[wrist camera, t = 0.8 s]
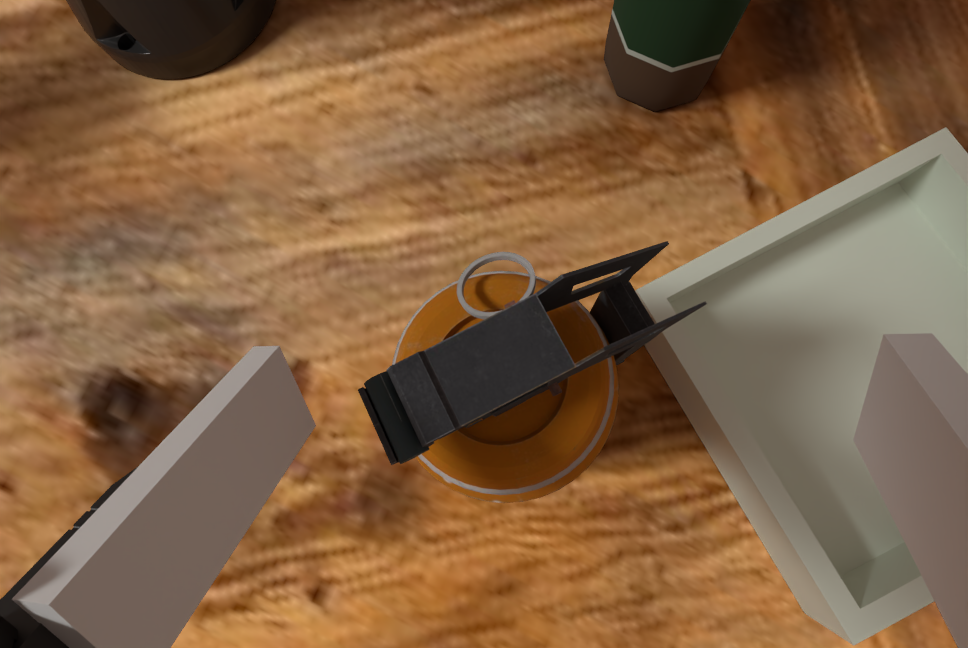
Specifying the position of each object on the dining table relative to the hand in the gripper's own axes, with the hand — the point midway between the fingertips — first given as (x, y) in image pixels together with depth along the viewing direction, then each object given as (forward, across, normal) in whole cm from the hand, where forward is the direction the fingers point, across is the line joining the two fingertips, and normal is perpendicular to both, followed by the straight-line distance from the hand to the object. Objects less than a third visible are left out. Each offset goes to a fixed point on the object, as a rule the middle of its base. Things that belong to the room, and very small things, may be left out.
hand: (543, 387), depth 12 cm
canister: (+16, -4, -14) cm, 21 cm away
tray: (+19, +15, -15) cm, 29 cm away
